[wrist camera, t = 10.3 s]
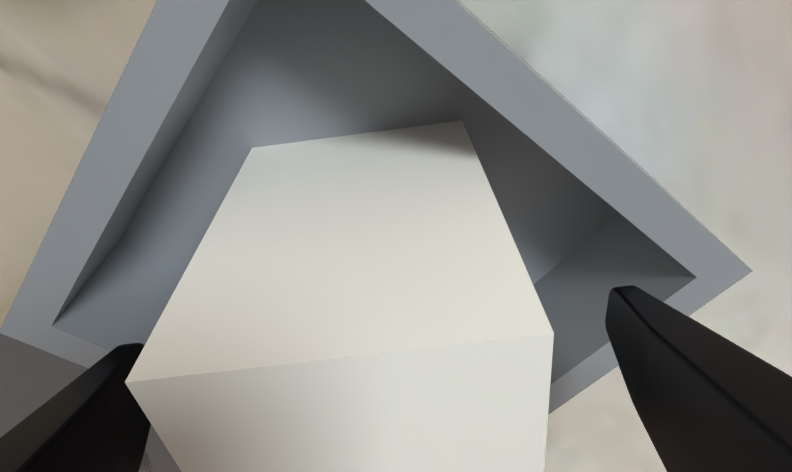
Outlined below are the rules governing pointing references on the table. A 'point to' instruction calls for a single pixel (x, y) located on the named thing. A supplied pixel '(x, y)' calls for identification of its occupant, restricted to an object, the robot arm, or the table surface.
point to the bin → (339, 116)
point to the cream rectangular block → (353, 318)
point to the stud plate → (52, 393)
